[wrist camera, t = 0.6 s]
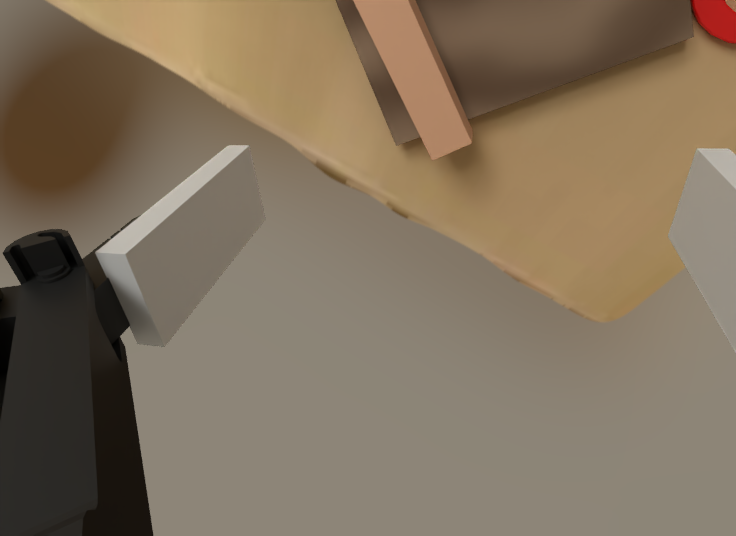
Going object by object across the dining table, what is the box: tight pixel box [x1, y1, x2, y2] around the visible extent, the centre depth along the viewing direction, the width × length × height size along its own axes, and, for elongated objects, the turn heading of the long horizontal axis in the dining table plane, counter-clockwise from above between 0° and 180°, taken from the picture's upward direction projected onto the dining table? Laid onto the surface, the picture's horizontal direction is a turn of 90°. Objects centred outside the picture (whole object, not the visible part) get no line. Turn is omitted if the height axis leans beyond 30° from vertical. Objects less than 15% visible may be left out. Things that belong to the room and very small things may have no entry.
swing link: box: [353, 0, 473, 161], centre depth 30 cm, size 18×5×4 cm, turn 30°
